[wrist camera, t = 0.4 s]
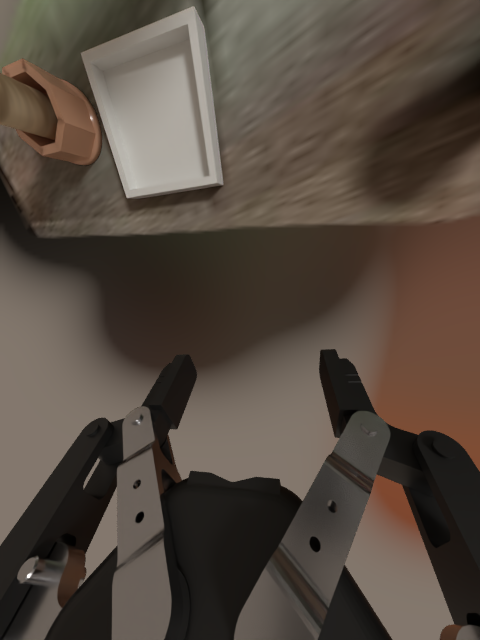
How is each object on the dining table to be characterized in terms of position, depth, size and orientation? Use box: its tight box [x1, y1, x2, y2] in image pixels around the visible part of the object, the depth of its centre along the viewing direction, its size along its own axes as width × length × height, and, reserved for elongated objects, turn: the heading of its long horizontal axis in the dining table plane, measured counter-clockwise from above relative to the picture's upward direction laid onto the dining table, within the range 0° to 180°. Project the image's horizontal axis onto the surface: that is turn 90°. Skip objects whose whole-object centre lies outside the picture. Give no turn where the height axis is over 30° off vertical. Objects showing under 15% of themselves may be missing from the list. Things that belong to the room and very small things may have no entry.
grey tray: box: [81, 6, 223, 199], centre depth 28 cm, size 16×16×3 cm
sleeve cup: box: [2, 58, 102, 166], centre depth 30 cm, size 10×10×6 cm
